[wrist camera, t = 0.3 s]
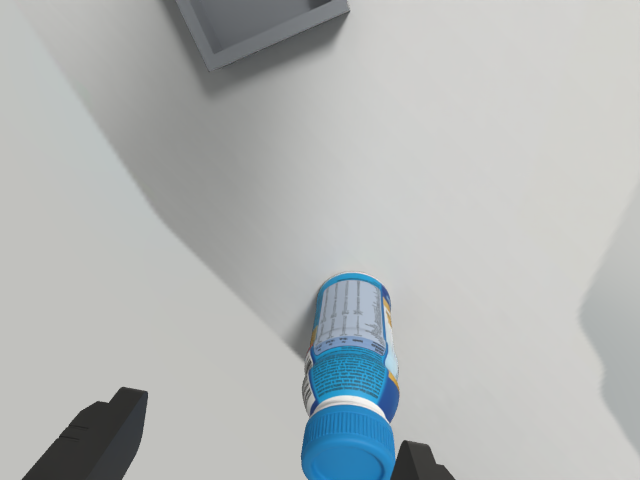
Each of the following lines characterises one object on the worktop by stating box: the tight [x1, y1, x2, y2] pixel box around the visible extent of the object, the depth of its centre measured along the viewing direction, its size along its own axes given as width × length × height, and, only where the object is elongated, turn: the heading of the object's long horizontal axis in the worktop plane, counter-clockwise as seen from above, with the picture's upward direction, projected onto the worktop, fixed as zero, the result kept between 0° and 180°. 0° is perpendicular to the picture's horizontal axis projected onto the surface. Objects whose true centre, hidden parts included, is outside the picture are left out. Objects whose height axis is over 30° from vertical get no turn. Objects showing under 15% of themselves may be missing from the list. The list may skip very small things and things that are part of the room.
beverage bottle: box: [301, 271, 399, 480], centre depth 37 cm, size 8×8×20 cm
